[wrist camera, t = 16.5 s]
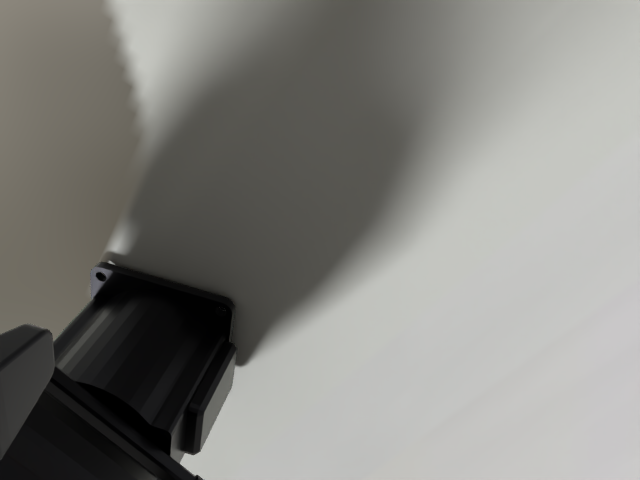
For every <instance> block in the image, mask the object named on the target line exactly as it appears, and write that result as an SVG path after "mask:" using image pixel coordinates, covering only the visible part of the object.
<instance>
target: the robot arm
mask: <svg viewBox="0 0 640 480" xmlns="http://www.w3.org/2000/svg"><path fill="white" fill-rule="evenodd" d="M101 272H102V273H104V274H105V275H106V276H104V275H103V274H102V273H101ZM90 276H91V301H90V302H89V303H88V304H87V305H86V306H85V307H84V308H83V309H82V310H81V311H80V313H79V314H78V315H77V316H76V317H75V318H74V319H73V320H72V321H71V322H70V323H69V325H68V326H67V327H66V328H65V329H64V330H63V331H62V332H61V333H60V334H59V335H58V337H57V338H56V339H55V340H54V341H53V338H52V333H51V332H50V330H48V329H46V328H42V327H39V326H36V325H33V324H24V325H21V326H18V327H16V328H14V329H11V330H9V331H7V332H5V333H2V334H0V480H203V479H202V478H201V477H200V476H198V475H196V476H194V475H193V474H192V473H191V472H189V471H188V470H187V469H186V468H184V467H183V466H182V465H180V464H179V463H180V461H181V459H182V457H183V455H184V453H188V454H191V455H195V454H197V453H199V452H200V451H201V449H202V447H203V445H204V443H205V441H206V439H207V437H208V435H209V433H210V431H211V429H212V426H213V424H214V422H215V420H216V418H217V416H218V414H219V412H220V410H221V408H222V406H223V404H224V402H225V400H226V398H227V395H228V393H229V391H230V389H231V387H232V383H233V375H234V368H235V361H236V354H237V348H236V346H235V344H234V343H232V342H231V339H232V331H233V323H234V316H235V305H234V303H233V302H232V301H231V300H230V299H228V298H226V297H223V296H219V295H216V294H213V293H209V292H206V291H202V290H199V289H195V288H192V287H188V286H185V285H181V284H178V283H175V282H171V281H168V280H164V279H161V278H157V277H154V276H150V275H147V274H144V273H140V272H137V271H133V270H130V269H126V268H123V267H119V266H116V265H112V264H109V263H105V262H100V263H98V264H97V265H96V266H95V267H94V268H93V269H92V270H91V273H90ZM219 307H222V308H224V309H225V310H226V311H223V310H221V309H220V308H219Z"/></svg>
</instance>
